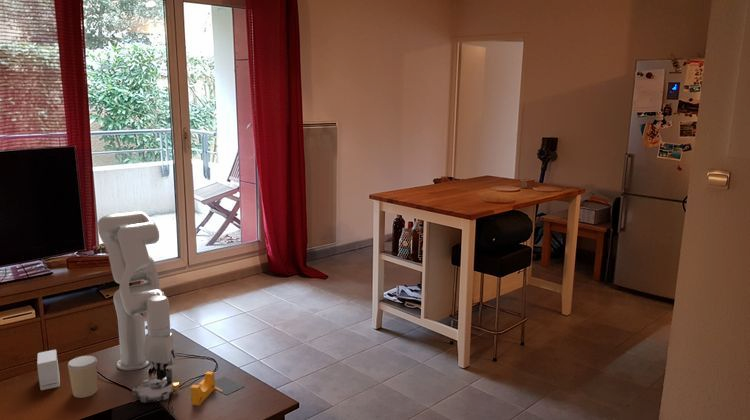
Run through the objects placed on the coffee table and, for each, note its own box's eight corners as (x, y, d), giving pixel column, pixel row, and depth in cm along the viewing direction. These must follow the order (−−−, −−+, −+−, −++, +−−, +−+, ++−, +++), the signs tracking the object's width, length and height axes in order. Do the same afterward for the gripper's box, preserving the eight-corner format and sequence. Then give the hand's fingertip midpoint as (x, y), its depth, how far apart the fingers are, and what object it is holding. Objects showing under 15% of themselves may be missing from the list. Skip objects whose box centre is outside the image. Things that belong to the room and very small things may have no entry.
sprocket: (150, 379, 215) (149, 361, 213) (185, 384, 211) (184, 366, 210) (124, 399, 200) (122, 380, 199) (160, 405, 197) (159, 386, 196)
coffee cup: (105, 388, 210) (102, 357, 208) (85, 400, 202) (82, 368, 199) (85, 384, 213) (82, 353, 211) (64, 396, 205) (61, 364, 202)
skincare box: (39, 378, 217) (37, 352, 215) (59, 374, 220) (56, 348, 218) (39, 391, 208) (36, 363, 206) (59, 386, 211) (57, 359, 209)
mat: (206, 384, 214) (206, 384, 214) (224, 376, 220) (224, 376, 220) (226, 395, 207) (226, 394, 206) (244, 386, 213) (244, 386, 213)
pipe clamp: (204, 387, 212) (202, 370, 211) (215, 388, 211) (214, 371, 210) (187, 404, 200) (185, 386, 199) (198, 405, 199) (197, 388, 198)
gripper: (133, 331, 204) (137, 379, 208) (171, 337, 201) (173, 386, 204) (147, 323, 211) (150, 370, 215) (183, 329, 208) (185, 376, 211)
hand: (161, 378), depth 210 cm, fingers closed
